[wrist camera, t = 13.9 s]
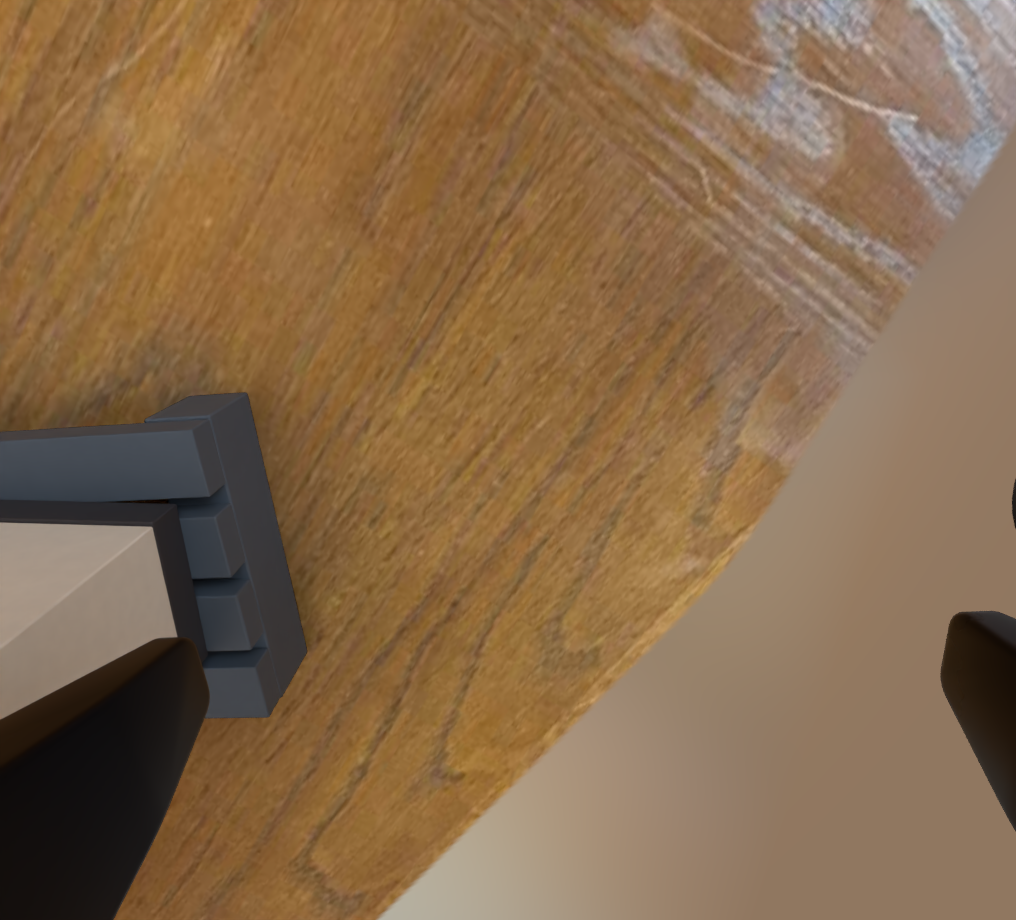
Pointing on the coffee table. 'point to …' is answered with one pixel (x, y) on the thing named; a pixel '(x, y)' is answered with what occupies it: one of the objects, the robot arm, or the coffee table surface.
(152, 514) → the cream boot
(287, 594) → the grey shipping pallet
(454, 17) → the coffee table surface
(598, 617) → the coffee table surface
